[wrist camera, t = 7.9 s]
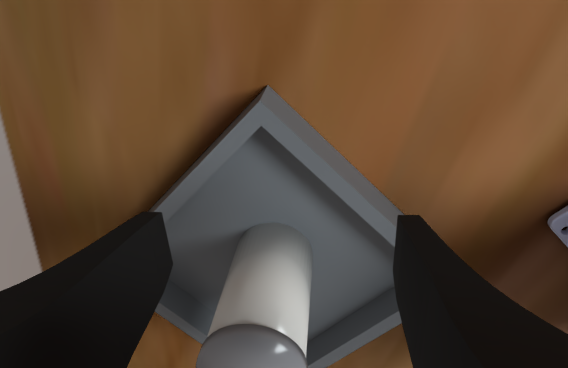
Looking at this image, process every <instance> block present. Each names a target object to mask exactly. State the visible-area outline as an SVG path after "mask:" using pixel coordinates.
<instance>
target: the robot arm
mask: <svg viewBox="0 0 568 368" xmlns="http://www.w3.org/2000/svg"><path fill="white" fill-rule="evenodd" d="M548 226H549V227H550V228H551V230H552V231H553V232H554V233H555V234H556V235H557V236H558V237H559V238H560V239H561V241H562V242H563V243H564V244H565V245H566V246H567V247H568V228H567V229H566V230H562V229H563V228H564V227H566V226H568V206H566V207H565V208H563V209H562V210H560V211H558V212H557V213H555V214H553V215H552V216H551V217H550V218H549V219H548ZM172 267H173V260H172V256H171V251H170V247H169V242H168V238H167V233H166V229H165V224H164V220H163V215H162V212H142V213H140V214H138V215H136V216H135V217H133V218H131V219H130V220H128V221H126V222H125V223H123V224H122V225H120V226H119V227H117V228H116V229H114V230H112V231H111V232H109V233H108V234H106V235H105V236H103V237H102V238H100V239H98V240H97V241H95V242H94V243H92V244H91V245H89V246H87V247H86V248H84V249H82V250H81V251H79V252H77V253H76V254H74V255H72V256H70V257H69V258H67V259H65V260H64V261H62V262H60V263H59V264H57V265H55V266H53V267H51V268H49V269H47V270H46V271H44V272H42V273H40V274H38V275H36V276H34V277H32V278H29V279H27V280H25V281H23V282H21V283H19V284H17V285H14V286H12V287H10V288H7V289H5V290H3V291H0V368H127V366H128V364H129V361H130V359H131V357H132V355H133V353H134V351H135V349H136V347H137V345H138V343H139V341H140V339H141V337H142V335H143V333H144V331H145V329H146V327H147V325H148V323H149V321H150V319H151V317H152V315H153V313H154V311H155V309H156V307H157V305H158V303H159V301H160V299H161V297H162V295H163V293H164V291H165V288H166V285H167V282H168V279H169V276H170V273H171V270H172ZM393 277H394V286H395V294H396V301H397V305H398V309H399V313H400V317H401V321H402V325H403V329H404V333H405V337H406V341H407V345H408V349H409V353H410V357H411V361H412V364H413V368H568V334H567V333H565V332H563V331H561V330H560V329H558V328H556V327H554V326H553V325H551V324H549V323H547V322H546V321H544V320H542V319H541V318H539V317H538V316H536V315H534V314H533V313H531V312H530V311H528V310H526V309H525V308H523V307H522V306H520V305H519V304H517V303H516V302H514V301H513V300H511V299H510V298H509V297H507V296H506V295H504V294H503V293H502V292H500V291H499V290H498V289H496V288H495V287H494V286H492V285H491V284H490V283H488V282H487V281H486V280H485V279H483V278H482V277H481V276H480V275H479V274H478V273H476V272H475V271H474V270H473V269H472V268H471V267H469V266H468V265H467V264H466V263H465V262H464V261H463V260H462V259H461V258H460V257H459V256H458V255H457V254H456V253H455V252H454V251H453V250H451V249H450V248H449V247H448V245H447V244H446V243H445V242H444V241H443V240H442V239H441V238H440V237H439V236H438V235H437V234H436V233H435V232H434V231H433V230H432V228H431V227H430V226H429V225H428V224H427V223H426V222H425V221H424V220H423V219H422V218H421V217H420V216H419V215H398V217H397V228H396V239H395V250H394V261H393Z"/></svg>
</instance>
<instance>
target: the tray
mask: <svg viewBox="0 0 568 368" xmlns="http://www.w3.org/2000/svg"><path fill="white" fill-rule="evenodd" d="M148 212H162V215H163V220H164V224H165V229H166V233H167V238H168V242H169V247H170V251H171V256H172V260H173V267H172V270H171V273H170V276H169V279H168V282H167V285H166V288H165V291H164V293H163V295H162V297H161V299H160V301H159V303H158V305H157V307H156V309H155V312H156V313H158V314H159V315H161V316H162V317H164V318H165V319H166V320H168V321H169V322H171V323H172V324H174V325H175V326H177V327H178V328H179V329H181V330H182V331H184V332H185V333H187V334H188V335H190V336H191V337H192V338H194V339H195V340H197V341H198V342H200V343H201V344H203V342H204V341H205V339H206V338H207V336H208V333H209V330H210V327H211V324H212V321H213V318H214V315H215V312H216V309H217V306H218V303H219V300H220V297H221V294H222V291H223V288H224V285H225V282H226V279H227V276H228V273H229V270H230V266H231V263H232V260H233V257H234V254H235V251H236V248H237V245H238V242H239V240H240V238H241V237H242V235H243V234H244V233H245V232H246V231H247V230H248V229H250V228H252V227H254V226H256V225H259V224H262V223H281V224H285V225H288V226H291V227H293V228H295V229H296V230H298V231H299V232H301V233H302V234H303V235H304V236H305V237H306V238H307V240H308V241H309V243H310V245H311V248H312V252H313V263H312V278H311V292H310V307H309V321H308V336H307V350H306V359H307V364H308V368H326V367H328V366H330V365H331V364H333V363H335V362H336V361H338V360H340V359H342V358H343V357H345V356H347V355H348V354H350V353H352V352H353V351H355V350H357V349H358V348H360V347H362V346H364V345H365V344H367V343H369V342H370V341H372V340H374V339H375V338H377V337H379V336H381V335H382V334H384V333H386V332H387V331H389V330H391V329H392V328H394V327H396V326H397V325H399V324H401V323H402V321H401V317H400V313H399V309H398V305H397V301H396V294H395V286H394V277H393V261H394V250H395V239H396V228H397V217H398V215H404V214H403V213H402V212H401V211H400V210H399V209H398V208H397V207H396V206H395V205H394V204H392V203H391V202H390V201H389V200H388V199H387V198H386V197H385V196H384V195H383V194H382V193H381V192H380V191H379V190H378V189H377V188H376V187H375V186H374V185H372V184H371V183H370V182H369V181H368V180H367V179H366V178H365V177H364V176H363V175H362V174H361V173H360V172H359V171H358V170H357V169H356V168H355V167H354V166H353V165H351V164H350V163H349V162H348V161H347V160H346V159H345V158H344V157H343V156H342V155H341V154H340V153H339V152H338V151H337V150H336V149H335V148H334V147H333V146H331V145H330V144H329V143H328V142H327V141H326V140H325V139H324V138H323V137H322V136H321V135H320V134H319V133H318V132H317V131H316V130H315V129H314V128H313V127H312V126H310V125H309V124H308V123H307V122H306V121H305V120H304V119H303V118H302V117H301V116H300V115H299V114H298V113H297V112H296V111H295V110H294V109H293V108H292V107H291V106H289V105H288V104H287V103H286V102H285V101H284V100H283V99H282V98H281V97H280V96H279V95H278V94H277V93H276V92H275V91H274V90H273V89H272V88H271V87H269V86H268V85H267V86H266V87H265V88H264V89H263V90H262V91H261V93H260V94H259V95H258V96H257V97H256V98H255V99H254V100H253V101H252V102H251V103H250V104H249V105H248V106H247V107H246V108H245V109H244V110H243V112H242V113H241V114H240V115H239V116H238V117H237V118H236V119H235V120H234V121H233V122H232V123H231V124H230V125H229V126H228V127H227V128H226V129H225V131H224V132H223V133H222V134H221V135H220V136H219V137H218V138H217V139H216V140H215V141H214V142H213V143H212V144H211V145H210V146H209V147H208V148H207V150H206V151H205V152H204V153H203V154H202V155H201V156H200V157H199V158H198V159H197V160H196V161H195V162H194V163H193V164H192V165H191V166H190V167H189V169H188V170H187V171H186V172H185V173H184V174H183V175H182V176H181V177H180V178H179V179H178V180H177V181H176V182H175V183H174V184H173V185H172V186H171V188H170V189H169V190H168V191H167V192H166V193H165V194H164V195H163V196H162V197H161V198H160V199H159V200H158V201H157V202H156V203H155V204H154V205H153V207H152V208H151V209H150V210H149V211H148Z"/></svg>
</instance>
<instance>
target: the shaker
mask: <svg viewBox="0 0 568 368" xmlns="http://www.w3.org/2000/svg"><path fill="white" fill-rule="evenodd" d="M312 263H313V252H312V248H311V245H310V243H309V241H308V240H307V238H306V237H305V236H304V235H303V234H302V233H301V232H299V231H298V230H296V229H295V228H293V227H291V226H288V225H285V224H281V223H262V224H259V225H256V226H254V227H252V228H250V229H248V230H247V231H246V232H245V233H244V234H243V235H242V237H241V238H240V240H239V242H238V245H237V248H236V251H235V254H234V257H233V260H232V263H231V266H230V270H229V273H228V276H227V279H226V282H225V285H224V288H223V291H222V294H221V297H220V300H219V303H218V306H217V309H216V312H215V315H214V318H213V321H212V324H211V327H210V330H209V333H208V336H207V338H206V339H205V341H204V342H203V344H202V347H201V349H200V352H199V355H198V358H197V362H196V368H308V364H307V359H306V350H307V336H308V321H309V307H310V292H311V278H312Z"/></svg>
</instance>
